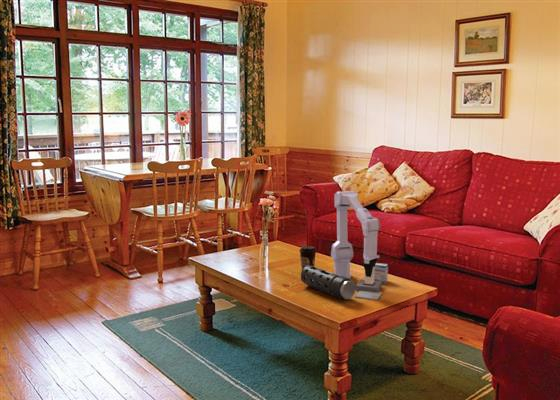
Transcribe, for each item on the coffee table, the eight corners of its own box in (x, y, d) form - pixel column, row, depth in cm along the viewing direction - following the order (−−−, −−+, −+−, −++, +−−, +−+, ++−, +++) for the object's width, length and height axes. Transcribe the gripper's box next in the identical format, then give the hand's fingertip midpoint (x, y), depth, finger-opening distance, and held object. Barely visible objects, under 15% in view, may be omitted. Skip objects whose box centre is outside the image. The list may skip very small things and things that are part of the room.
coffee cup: (307, 275, 274) (307, 250, 272) (295, 271, 280) (295, 247, 278) (319, 271, 279) (319, 247, 277) (307, 268, 286) (308, 244, 283)
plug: (366, 281, 246) (366, 262, 244) (374, 281, 244) (374, 263, 243) (364, 283, 242) (365, 264, 241) (372, 284, 241) (373, 265, 240)
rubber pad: (360, 290, 251) (360, 289, 251) (382, 293, 247) (382, 292, 247) (355, 297, 241) (355, 296, 241) (377, 300, 238) (377, 299, 238)
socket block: (360, 284, 260) (360, 279, 259) (381, 286, 256) (381, 281, 256) (355, 290, 250) (355, 285, 250) (377, 293, 247) (377, 288, 246)
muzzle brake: (315, 284, 261) (315, 263, 259) (356, 300, 238) (357, 277, 237) (299, 287, 255) (300, 266, 253) (340, 305, 233) (341, 281, 231)
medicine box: (369, 281, 264) (370, 264, 262) (371, 279, 268) (371, 262, 266) (386, 283, 261) (386, 266, 260) (387, 280, 265) (388, 263, 264)
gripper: (376, 250, 232) (375, 281, 235) (382, 242, 246) (381, 271, 248) (359, 248, 235) (359, 279, 237) (367, 241, 248) (366, 270, 250)
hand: (369, 275), depth 243 cm, fingers closed on plug, 4 cm apart
